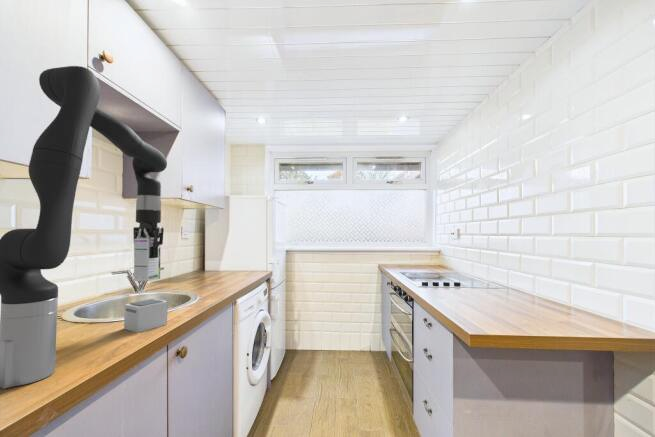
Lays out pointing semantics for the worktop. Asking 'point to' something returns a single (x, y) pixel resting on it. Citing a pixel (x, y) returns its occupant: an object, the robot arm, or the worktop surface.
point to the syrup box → (145, 261)
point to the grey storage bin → (145, 315)
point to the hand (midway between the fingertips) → (147, 257)
